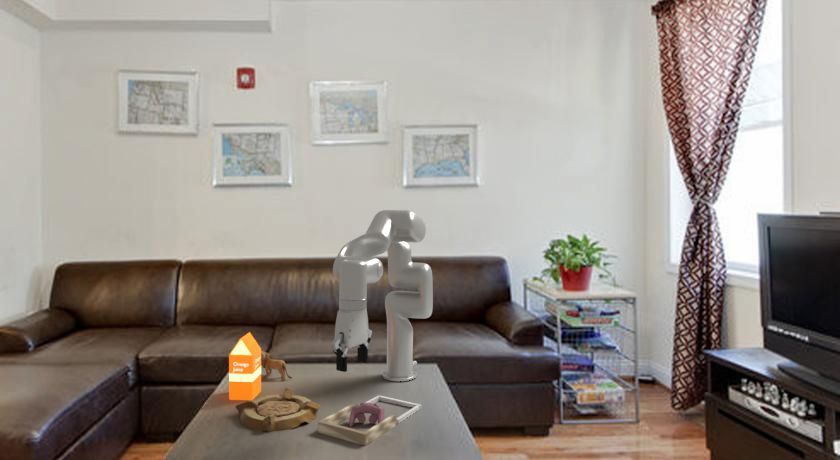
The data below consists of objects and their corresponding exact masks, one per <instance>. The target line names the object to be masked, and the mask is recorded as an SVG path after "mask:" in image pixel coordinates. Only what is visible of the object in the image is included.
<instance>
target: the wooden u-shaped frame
mask: <svg viewBox="0 0 840 460" xmlns="http://www.w3.org/2000/svg"><path fill="white" fill-rule="evenodd" d="M355 405H356V404H352V403H351V404H349V405H347V406H345V407H344V408H342V409H340V410H338V411H336V412H334V413H331V414H330V415H328V416H326V417H325V418H323V419H321V420H319V421H318V422H317V433H318V434H319V433H320V434H322V435H326V436H329V437H333V438H337V439H340V440H344V441H347V442H351V443H354V444H357V445H362V446H366V447H367V446H368V445H369V444H370V443H372V442H373V441H375V440H377V439H379V438H380V437H381V436H382V435H384V434H385V433H387V432H388V431H390V430H391V429H393V428H394V427H396V426H397V423H396V418H397V414H394V413H393V414H390V415H389V416H388V417H386V418H385V419H383V421H381V422H380V423H378V422H377V423H375V425H373V426H372V427H370V428H369V429H366V430H365V431H362V430H358V429H355V428H352V427H348V426H343V425H339V424H340V423H342V422H344V421H346V420H349V419H350V414H351V410H352V408H353V407H354V406H355Z"/></svg>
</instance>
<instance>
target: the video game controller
mask: <svg viewBox="0 0 840 460" xmlns="http://www.w3.org/2000/svg"><path fill="white" fill-rule="evenodd" d="M354 405H355V406H354V407H353V408H352V410H351V414H350V418H348V421H349V422H348V425H349V428H352V427H353V425H355V422H356V419H357V421H358V423H360V424H364V423H365V422H366V421H367V417H366V415H365V414H370V415H369V417H368V422H369V423H370V424H372V425H374V424H378V423H380V422H381V421H383V420H384V418H385V409H384V408H383V407H382V406H381V405H379V404H377V403H365V402H360V403H357V404H354Z"/></svg>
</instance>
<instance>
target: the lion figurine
mask: <svg viewBox="0 0 840 460" xmlns="http://www.w3.org/2000/svg"><path fill="white" fill-rule="evenodd" d="M261 368H263V369H264V370H265V375H264V378H268V377H269V376H272V374H273V371H276V370H277V371H278V373H279V374H280V376H281V381H282V382H283V381H284V382H285V380H286V377H287V378H288V379H293V377H292V376H290V375H289V374H288V369H287V365H286V362H285V361H284V360H282V359H275V358H274V357H273V356H272V355H271V354H270V353H268V352H266V351H264V350H261Z"/></svg>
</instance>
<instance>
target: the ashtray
mask: <svg viewBox="0 0 840 460" xmlns="http://www.w3.org/2000/svg"><path fill="white" fill-rule="evenodd" d="M235 408H236V410H237V413H238V418H239V420H240V423H241V424H242V425H243V426H244V427H246V428H247V429H250V430H253V431H258V432H270V433H271V432H272V433H273V432H280V431H288V430H293V429H294V428H297V427H299V426H300V425H301V424H303V423H307V424H310V422H312V421H314V420H315V419H316V418H317V415H318V411H319V410H320V408H321V406H320V404H319V403H317V402H313V401H312V400H311V399H309V398H307V397H305V396H300V395H298V394H297V395H296V394H293V390H292V388H289V387H288V388H287V387H285V388H284V390H283V393H280V394H269V395H265V396H264V395H263V396H261V397H259V398H256V399H253V400H245V401H244V402H240V403H239V404H236V405H235Z"/></svg>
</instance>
